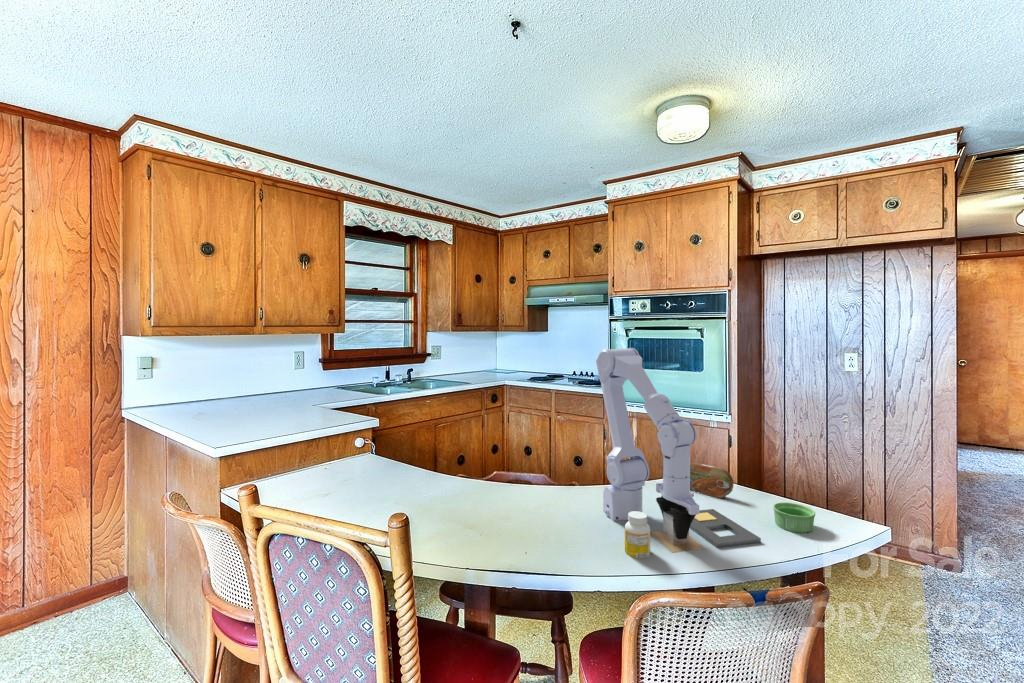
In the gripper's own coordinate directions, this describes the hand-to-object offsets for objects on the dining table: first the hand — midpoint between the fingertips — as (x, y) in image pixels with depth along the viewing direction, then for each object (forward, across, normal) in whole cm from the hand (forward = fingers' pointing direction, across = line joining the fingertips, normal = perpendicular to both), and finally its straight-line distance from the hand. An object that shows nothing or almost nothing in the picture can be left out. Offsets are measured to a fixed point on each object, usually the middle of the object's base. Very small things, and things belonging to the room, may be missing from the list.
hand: (676, 533), depth 107 cm
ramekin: (+3, +3, -34) cm, 34 cm away
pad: (+3, 0, 0) cm, 3 cm away
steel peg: (+1, 0, 0) cm, 1 cm away
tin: (+3, +28, -27) cm, 39 cm away
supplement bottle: (+3, -3, +11) cm, 12 cm away
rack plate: (+3, +3, -12) cm, 13 cm away
